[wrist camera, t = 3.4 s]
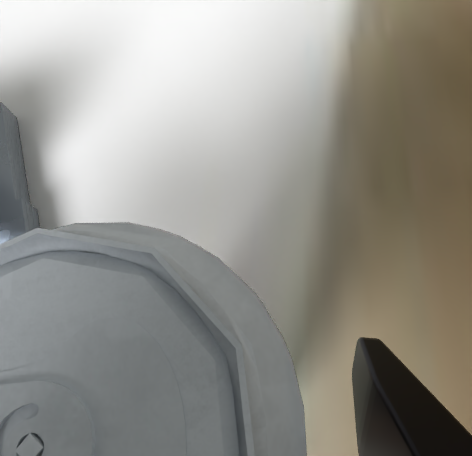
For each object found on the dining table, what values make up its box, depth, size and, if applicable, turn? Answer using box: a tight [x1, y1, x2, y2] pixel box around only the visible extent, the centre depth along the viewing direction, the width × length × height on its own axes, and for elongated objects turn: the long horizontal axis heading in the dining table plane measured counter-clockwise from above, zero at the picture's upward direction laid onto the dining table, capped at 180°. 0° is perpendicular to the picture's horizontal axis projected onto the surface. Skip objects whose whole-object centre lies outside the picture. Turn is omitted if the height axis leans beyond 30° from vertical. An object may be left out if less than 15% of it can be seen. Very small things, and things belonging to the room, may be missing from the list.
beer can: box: [0, 223, 307, 456], centre depth 9 cm, size 5×5×12 cm
